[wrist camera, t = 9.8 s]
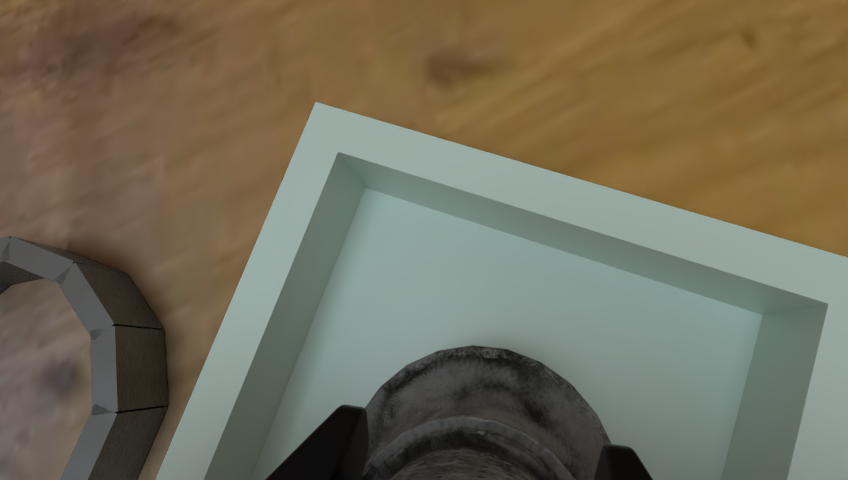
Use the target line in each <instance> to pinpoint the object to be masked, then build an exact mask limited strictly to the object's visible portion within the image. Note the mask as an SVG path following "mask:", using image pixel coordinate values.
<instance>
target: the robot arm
mask: <svg viewBox="0 0 848 480" xmlns="http://www.w3.org/2000/svg"><path fill="white" fill-rule="evenodd" d="M368 449H369V433H368V421H367V412H366V410H365V408H363V407H359V406H353V405H341V406H339V407H338V408H337V409H336V410H335V411H334V412H333V413H332V414H331V415H330V416H329V417H328V418H327V419H326V420H325V421H324V422H322V423H321V424H320V425H319V426H318V427H317V428H316V429H315V430H314V431H313V432H312V433H311V434H310V435H309V436H308V437H307V438H306V439H305V440H304V441H303V442H302V443H301V444H300V445H299V446H298V447H297V448H296V449H295V450H294V451H293V452H292V453H291V454H290V455H289V456H288V457H287V458H286V459H285V460H284V461H283V462H282V463H281V464H280V465H279V466H278V467H277V468H276V469H275V470H274V471H273V472H272V473H271V474H270V475H269V476H268V477H267V478H266V479H265V480H358V479H359V478H360V476H361V475H362V474H363V472H364V468H365V463H366V459H367V455H368ZM594 480H653V479H652V477H651V476H650V474H649V472H648V471H647V469H646V468H645V466H644V465H643V463H642V461H641V460H640V458H639V457H638V455H637V453H636V452H635V451H634V450H633V449H632V448H631V447H628V446H623V445H616V444H609V443H608V444H605V445H604V446H603V447H602V450H601V453H600V457H599V461H598V465H597V468H596V472H595V476H594Z"/></svg>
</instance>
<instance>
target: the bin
mask: <svg viewBox="0 0 848 480" xmlns="http://www.w3.org/2000/svg"><path fill="white" fill-rule="evenodd" d="M471 345H474V346H483V347H493V348H502V349H508V350H511V351H513V352H516V353H519V354H521V355H524V356H526V357H529V358H531V359H534V360H537V361H539V362H542V363H543V364H544V365H546V366H547V367H548V368H550V369H551V370H553V371H554V372H555V373H557V374H558V375H560V376H561V377H562V378H564V379H565V380H567V381H568V382H569V383H571V384H572V385H573V386H574V387H575V389H576V390H577V391H578V392H579V393H580V395H581V396H582V397H583V398H584V399H585V400H586V402H587V403H588V404H589V405H590V406H591V408H592V409H593V410H594V411H595V412H596V413H597V415H598V417H599V419H600V421H601V423H602V425H603V427H604V429H605V431H606V433H607V435H608V437H609V439H610V441H611V443H612V444H616V445H623V446H628V447H631V448H632V449H633V450H634V451H635V452H636V453H637V455H638V457H639V458H640V460H641V461H642V463H643V465H644V466H645V468H646V469H647V471H648V472H649V474H650V476H651V477H652V479H653V480H848V258H847V257H844V256H840V255H837V254H833V253H830V252H827V251H823V250H820V249H816V248H813V247H809V246H806V245H803V244H799V243H796V242H792V241H789V240H785V239H782V238H779V237H775V236H772V235H768V234H765V233H762V232H758V231H755V230H751V229H748V228H744V227H741V226H738V225H734V224H731V223H727V222H724V221H721V220H717V219H714V218H710V217H707V216H703V215H700V214H697V213H693V212H690V211H686V210H683V209H680V208H676V207H673V206H669V205H666V204H662V203H659V202H656V201H652V200H649V199H645V198H642V197H639V196H635V195H632V194H628V193H625V192H621V191H618V190H615V189H611V188H608V187H604V186H601V185H597V184H594V183H591V182H587V181H584V180H580V179H577V178H574V177H570V176H567V175H563V174H560V173H556V172H553V171H550V170H546V169H543V168H539V167H536V166H533V165H529V164H526V163H522V162H519V161H515V160H512V159H509V158H505V157H502V156H498V155H495V154H492V153H488V152H485V151H481V150H478V149H474V148H471V147H468V146H464V145H461V144H457V143H454V142H451V141H447V140H444V139H440V138H437V137H433V136H430V135H427V134H423V133H420V132H416V131H413V130H410V129H406V128H403V127H399V126H396V125H392V124H389V123H386V122H382V121H379V120H375V119H372V118H368V117H365V116H362V115H358V114H355V113H351V112H348V111H345V110H341V109H338V108H334V107H331V106H327V105H324V104H321V103H317V102H316V103H315V105H314V107H313V110H312V112H311V115H310V117H309V119H308V122H307V124H306V126H305V129H304V131H303V133H302V136H301V138H300V140H299V143H298V145H297V147H296V150H295V152H294V155H293V157H292V159H291V162H290V164H289V166H288V169H287V171H286V173H285V176H284V178H283V180H282V183H281V185H280V187H279V190H278V192H277V195H276V197H275V199H274V202H273V204H272V206H271V209H270V211H269V213H268V216H267V218H266V220H265V223H264V225H263V228H262V230H261V232H260V235H259V237H258V239H257V242H256V244H255V246H254V249H253V251H252V253H251V256H250V258H249V260H248V263H247V265H246V268H245V270H244V272H243V275H242V277H241V279H240V282H239V284H238V286H237V289H236V291H235V293H234V296H233V298H232V301H231V303H230V305H229V308H228V310H227V312H226V315H225V317H224V319H223V322H222V324H221V326H220V329H219V331H218V333H217V336H216V338H215V341H214V343H213V345H212V348H211V350H210V352H209V355H208V357H207V359H206V362H205V364H204V366H203V369H202V371H201V373H200V376H199V378H198V381H197V383H196V385H195V388H194V390H193V392H192V395H191V397H190V399H189V402H188V404H187V406H186V409H185V411H184V414H183V416H182V418H181V421H180V423H179V425H178V428H177V430H176V432H175V435H174V437H173V439H172V442H171V444H170V446H169V449H168V451H167V454H166V456H165V458H164V461H163V463H162V465H161V468H160V470H159V472H158V475H157V477H156V479H155V480H265V479H266V478H267V477H268V476H269V475H270V474H271V473H272V472H273V471H274V470H275V469H276V468H277V467H278V466H279V465H280V464H281V463H282V462H283V461H284V460H285V459H286V458H287V457H288V456H289V455H290V454H291V453H292V452H293V451H294V450H295V449H296V448H297V447H298V446H299V445H300V444H301V443H302V442H303V441H304V440H305V439H306V438H307V437H308V436H309V435H310V434H311V433H312V432H313V431H314V430H315V429H316V428H317V427H318V426H319V425H320V424H321V423H322V422H324V421H325V420H326V419H327V418H328V417H329V416H330V415H331V414H332V413H333V412H334V411H335V410H336V409H337V408H338V407H339V406H341V405H353V406H359V407H363V408H365V407H366V406H367V404H368V403H369V402H370V400H371V399H372V397H373V396H374V395H375V393H376V392H377V391H378V389H379V388H380V387H381V386H382V385H383V384H384V383H385V382H387V381H388V380H389V379H390V378H391V377H393V376H394V375H395V374H396V373H398V372H399V371H400V370H401V369H402V368H404V367H405V366H406V365H408V364H410V363H412V362H414V361H416V360H419V359H421V358H423V357H425V356H427V355H430V354H432V353H434V352H436V351H439V350H445V349H452V348H458V347H465V346H471Z"/></svg>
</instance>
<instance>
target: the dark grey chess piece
mask: <svg viewBox="0 0 848 480" xmlns="http://www.w3.org/2000/svg"><path fill="white" fill-rule="evenodd" d="M365 410H366V412H367V421H368V433H369V449H368V455H367V459H366V463H365V468H364V472H363V474H362V475H361V476H360V478H359V479H358V480H594V476H595V472H596V468H597V465H598V461H599V457H600V453H601V450H602V447H603V446H604V445H605V444H608V443H609V444H612V443H611V441H610V439H609V437H608V435H607V433H606V431H605V429H604V427H603V425H602V423H601V421H600V419H599V417H598V415H597V413H596V412H595V411H594V410H593V409H592V408H591V406H590V405H589V404H588V403H587V402H586V400H585V399H584V398H583V397H582V396H581V395H580V393H579V392H578V391H577V390H576V389H575V387H574V386H573V385H572V384H571V383H569V382H568V381H567V380H565V379H564V378H562V377H561V376H560V375H558V374H557V373H555V372H554V371H553V370H551V369H550V368H548V367H547V366H546V365H544V364H543V363H542V362H539V361H537V360H534V359H531V358H529V357H526V356H524V355H521V354H519V353H516V352H513V351H511V350H508V349H502V348H493V347H483V346H474V345H471V346H465V347H458V348H452V349H445V350H439V351H436V352H434V353H432V354H430V355H427V356H425V357H423V358H421V359H419V360H416V361H414V362H412V363H410V364H408V365H406V366H405V367H404V368H402V369H401V370H400V371H399V372H398V373H396V374H395V375H394V376H393V377H391V378H390V379H389V380H388V381H387V382H385V383H384V384H383V385H382V386H381V387H380V388H379V389H378V391H377V392H376V393H375V395H374V396H373V397H372V399H371V400H370V402H369V403H368V404H367V406H366V407H365Z"/></svg>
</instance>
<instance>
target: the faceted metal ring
mask: <svg viewBox="0 0 848 480" xmlns="http://www.w3.org/2000/svg"><path fill="white" fill-rule="evenodd" d="M41 278H46V279H49V280H51V281H54V282H56V283H58V284H59V286H60V288H61V289H62V291H63V293H64V294H65V296H66V297H67V299H68V301H69V302H70V304H71V306H72V307H73V309H74V310H75V312H76V314H77V315H78V317H79V318H80V320H81V322H82V323H83V325H84V327H85V328H86V330H87V331H88V333H89V335H90V336H91V379H92V411H91V413H90V415H89V418H88V420H87V422H86V424H85V426H84V429H83V431H82V433H81V435H80V437H79V440H78V442H77V444H76V446H75V448H74V451H73V453H72V455H71V457H70V460H69V462H68V464H67V466H66V468H65V471H64V473H63V475H62V477H61V479H60V480H137V477H138V475H139V473H140V470H141V468H142V466H143V463H144V461H145V459H146V456H147V454H148V452H149V450H150V447H151V445H152V443H153V440H154V438H155V436H156V433H157V431H158V429H159V426H160V424H161V422H162V419H163V417H164V415H165V412H166V410H167V408H168V407H167V406H165V405H168V391H167V372H166V354H165V335H164V330H163V329H164V328H163V327H162V325H161V324H160V322H159V321H158V319H157V318H156V316H155V315H154V313H153V312H152V310H151V309H150V307H149V306H148V304H147V303H146V301H145V300H144V298H143V297H142V295H141V294H140V292H139V291H138V289H137V288H136V286H135V285H134V283H133V282H132V280H131V279H130V277H129V276H128V275H127V274H126V273H124V272H121V271H119V270H116V269H113V268H111V267H108V266H106V265H103V264H101V263H98V262H96V261H93V260H90V259H88V258H85V257H83V256H80V255H78V254H75V253H73V252H70V251H66V250H62V249H58V248H54V247H51V246H47V245H43V244H39V243H35V242H31V241H27V240H23V239H20V238H16V237H12V236H9V237H4V238H0V293H1V292H3V291H4V290H5V289H6V288H7V287H9V286H10V285H11V284H16V283H21V282H26V281H31V280H36V279H41Z"/></svg>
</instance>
